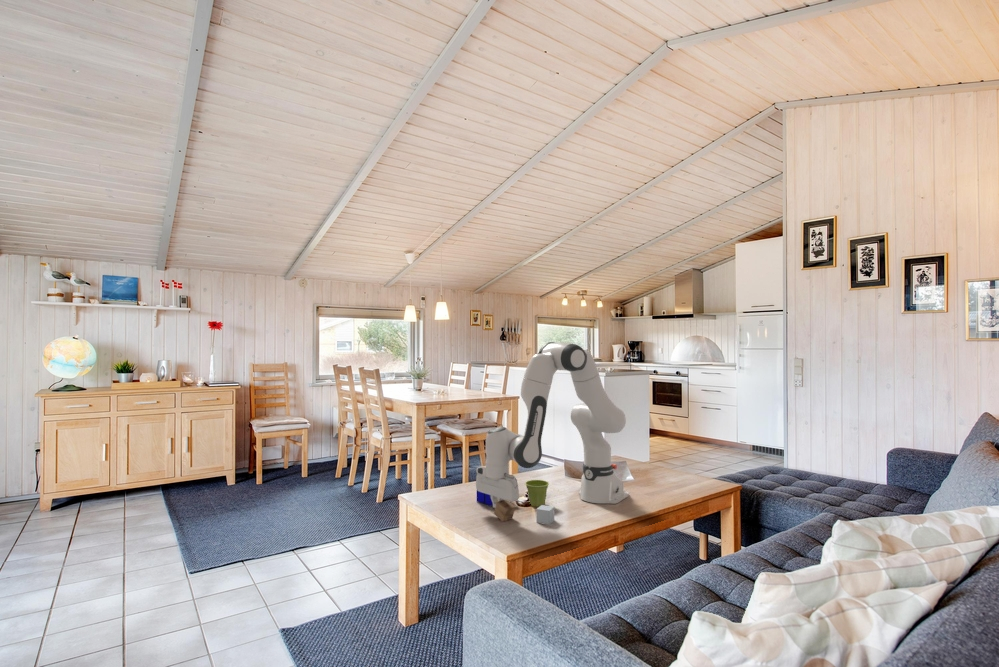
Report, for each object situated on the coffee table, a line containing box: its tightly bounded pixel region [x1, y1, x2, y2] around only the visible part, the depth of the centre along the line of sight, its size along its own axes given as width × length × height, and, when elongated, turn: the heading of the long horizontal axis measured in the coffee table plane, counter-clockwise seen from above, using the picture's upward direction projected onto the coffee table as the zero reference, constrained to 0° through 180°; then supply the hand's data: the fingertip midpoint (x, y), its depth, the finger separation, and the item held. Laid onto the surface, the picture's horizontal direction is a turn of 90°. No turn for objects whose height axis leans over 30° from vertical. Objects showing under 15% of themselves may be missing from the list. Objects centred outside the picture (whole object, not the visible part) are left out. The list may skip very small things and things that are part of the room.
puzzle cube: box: [476, 489, 498, 508], centre depth 212 cm, size 10×10×10 cm
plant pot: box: [524, 479, 550, 508], centre depth 208 cm, size 9×9×9 cm
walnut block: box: [493, 500, 516, 522], centre depth 191 cm, size 5×5×5 cm
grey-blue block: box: [536, 504, 555, 526], centre depth 189 cm, size 5×5×5 cm
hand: (497, 508), depth 195 cm, fingers closed
